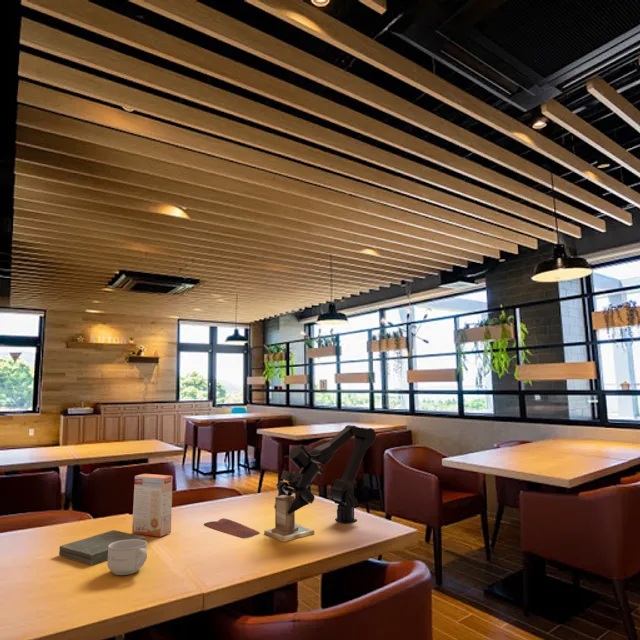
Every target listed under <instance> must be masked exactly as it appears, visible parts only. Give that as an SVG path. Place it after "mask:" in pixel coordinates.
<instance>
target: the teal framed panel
mask: <svg viewBox="0 0 640 640" xmlns="http://www.w3.org/2000/svg"><path fill="white" fill-rule="evenodd" d="M295 527H298V530H297V531H295V532H293V533H290V534H288V535H284V534H279V533H274V532H272V529H273V528H274V527H273V528H269V529H264V530H263V531H264V532H263V533H264V534H265V535H266V536H269V537H271V538H273V539H275V540H277V541H280V542H282V543H283V542H289V541H290V540H294V539H298V538H302V537H307V536H310V535H311V536H312V535H314V534H315V530H314V529H311V528H309V527H307V526H304V525H302V524H298V523H296V522H295Z"/></svg>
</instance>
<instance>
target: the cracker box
mask: <svg viewBox="0 0 640 640" xmlns="http://www.w3.org/2000/svg"><path fill="white" fill-rule="evenodd" d="M173 480H174V479H173V475H168V474H166V475H165V474H153V473H152V474H151V473H142V474H138V475H134V482H133V483H134V486H133V487H134V489H133V502H132V503H133V507H132V527H131V528H132V529H131V532H132V533H131V534H135V535H142V536H143V535H144V536H151V537H157V538H162V537H163V536H166V535H169V534H171V532H172V510H173V508H172V506H173V505H172V504H173Z"/></svg>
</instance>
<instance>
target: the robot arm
mask: <svg viewBox="0 0 640 640" xmlns="http://www.w3.org/2000/svg"><path fill="white" fill-rule="evenodd" d="M353 437H354V438H353ZM376 437H377V434H376V431H375V429H374V428H371V427H364V426H363V427H359V426H356V425H350V424H347V425H345V427H344V428H343V429H342V430H341V431H339V432H338V433H336V434H335V435H334V436H333V437H332V438H331V439H330V440H328V441H327V442H326V443H323V444H320V445H318V446H316V447H314V448H313V449H312V450H311V451H308V450H307V449H306V448H305V446H304V445H301V444H299V445H298V446H297V447H295V448H294V449H292V450H291V451H290V452H289V454H288V458H289V460H291V461H292V462H293V464H294V465H295V466H296V467H297V468H298V469H300V471H299V472H298V471H296V470H293V471H292V472H291V471H287V470H282V473H281V477H280V480H279V481H278V482H277V483H276V488H277V491H278V494H277V496H280V495H288V496H293V494H294V496H295V499H294V501H293V503H292V505H291V506H290V508H289V510H288V512H287V513H288V514H291V513H293V512H294V511H295V512H296V511H298V510H300V509H301V508H303V507H305V506H309V505H311V504H313V503H314V501H315V499H316V498H315V495H314V494H313V493H312V491H310V489H309V487H312V486H313V483H312V482H313V480H314V479H315V477H316V476H317V474H319V475H323V474H324V470H323V466H319V464H321V465H327V464H328V463H329V462H330V461H331V460H332V459H333V457H334V454H335V452H337V451H338V450H339V449H340V448H341V447H342V446H343V445H344V444H346V443H347V442H348V441H350V440H351V439H352V438H353V439H354V447H353V449H352V452H351V454H350V456H349V459H348V462H347V465H346V466H345V470H344V472H343V474H342V477H340V478H339V479H335V480H334V483H333V485H332V487H331V498H332V499H333V501H334V504H337V509H336V518H334V520H335V521H336V522H340V523H343V524H348V523H353V522H357V521H358V519H357V518H355V507H356V506H358V499H357V498H356V496H355V495H354V490H355V489H354V487H355V486H354V482H355V478H356V476H357V474H358V471H359V469H360V467H361V464H362V461H363V458H364V456H365V453H366V451H367V450H368V449H369V448H370V447H371V446H372V445H373V443H374V441H375V440H376ZM273 508H274V509H275V505H274V506H273Z"/></svg>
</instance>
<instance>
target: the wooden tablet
mask: <svg viewBox="0 0 640 640" xmlns="http://www.w3.org/2000/svg"><path fill="white" fill-rule="evenodd" d="M203 525H204V526H206V527H209V528H210V529H213V530H216V531H219V532H221V533H225V534H227V535H230V536H234V537H237V538H240V539H241V538H242V539H248V538H252V537H256V536H258V535H260V534H261V532H259V531H258V530H256V529H255V528H251V527H249V526H247V525H244V524H242V523H239V522H236V521H234V520H233V519H228V518H220V519H218V520H216V521H207V522H205V523H204V524H203Z"/></svg>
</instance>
